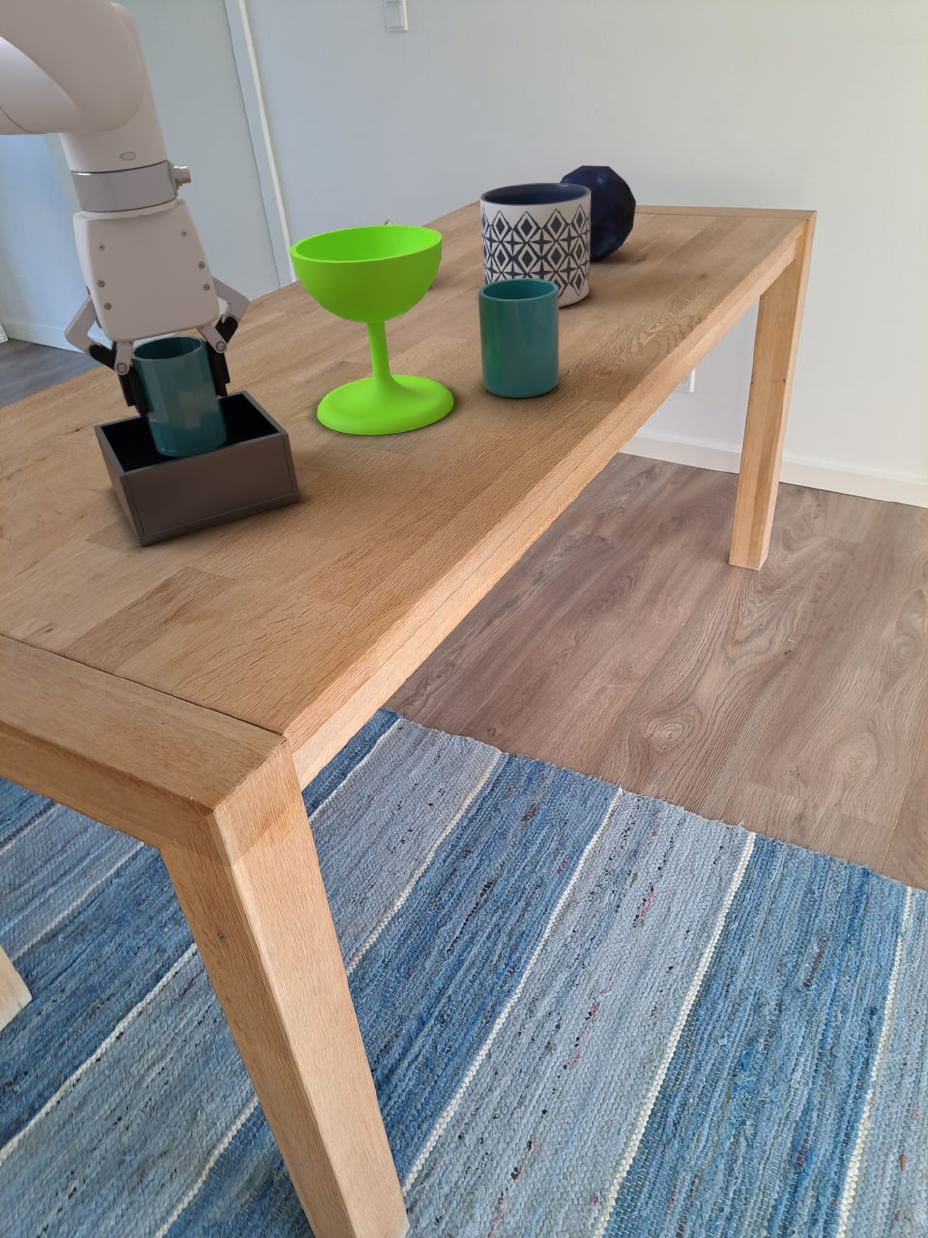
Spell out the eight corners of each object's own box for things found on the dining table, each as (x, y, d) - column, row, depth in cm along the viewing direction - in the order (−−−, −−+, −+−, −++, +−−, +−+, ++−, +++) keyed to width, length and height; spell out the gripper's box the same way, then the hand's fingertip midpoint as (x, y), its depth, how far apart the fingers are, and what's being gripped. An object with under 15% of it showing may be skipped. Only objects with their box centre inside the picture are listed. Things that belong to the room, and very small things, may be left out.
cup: (571, 365, 110) (572, 271, 103) (548, 402, 101) (547, 301, 94) (502, 361, 113) (498, 269, 106) (473, 397, 103) (467, 299, 97)
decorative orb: (608, 241, 138) (634, 146, 137) (522, 235, 145) (547, 144, 144) (633, 279, 151) (657, 192, 150) (553, 272, 157) (576, 189, 157)
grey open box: (141, 547, 80) (118, 476, 75) (114, 490, 89) (93, 425, 85) (300, 500, 85) (287, 432, 81) (259, 452, 95) (245, 389, 90)
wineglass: (369, 374, 112) (349, 221, 101) (479, 391, 105) (470, 229, 94) (288, 421, 101) (257, 256, 90) (404, 444, 94) (385, 267, 83)
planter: (468, 308, 132) (462, 203, 124) (505, 279, 144) (502, 181, 135) (571, 314, 126) (572, 205, 118) (601, 283, 138) (604, 182, 130)
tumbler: (165, 463, 80) (137, 366, 75) (149, 438, 85) (122, 345, 80) (235, 444, 83) (213, 349, 77) (216, 421, 87) (194, 330, 82)
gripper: (218, 168, 77) (259, 369, 87) (7, 199, 71) (78, 411, 81) (244, 179, 71) (284, 392, 82) (16, 214, 65) (91, 439, 76)
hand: (181, 400), depth 81 cm, fingers closed on tumbler, 6 cm apart
